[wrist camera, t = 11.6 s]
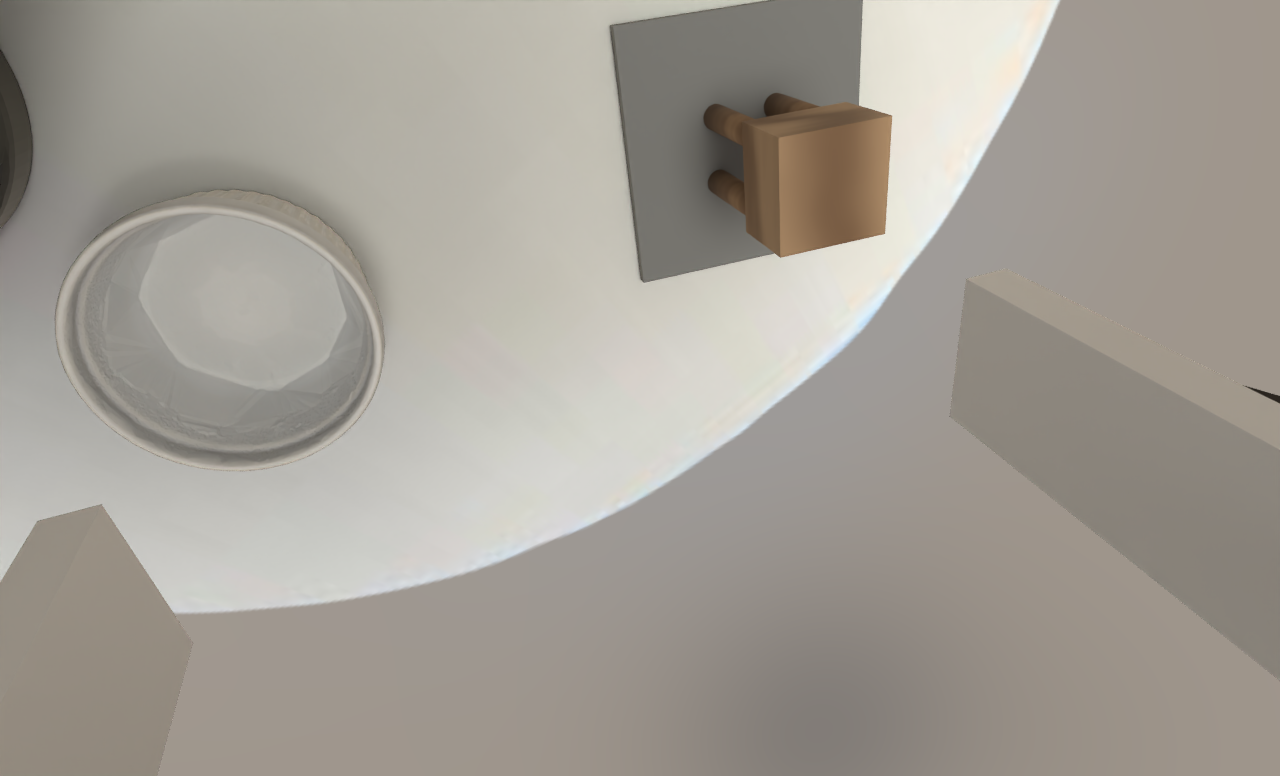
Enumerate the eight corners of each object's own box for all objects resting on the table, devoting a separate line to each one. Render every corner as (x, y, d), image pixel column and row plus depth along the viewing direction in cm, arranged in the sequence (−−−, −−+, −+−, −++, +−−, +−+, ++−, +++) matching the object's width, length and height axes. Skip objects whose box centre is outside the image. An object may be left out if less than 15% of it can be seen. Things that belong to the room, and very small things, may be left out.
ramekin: (60, 175, 34) (-6, 218, 29) (361, 157, 38) (356, 193, 32) (153, 418, 41) (114, 493, 35) (402, 385, 44) (404, 449, 38)
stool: (704, 201, 43) (780, 257, 35) (697, 102, 40) (778, 137, 32) (791, 183, 44) (884, 233, 36) (790, 85, 41) (892, 115, 33)
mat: (640, 279, 45) (644, 282, 45) (610, 25, 38) (613, 26, 37) (848, 232, 48) (853, 235, 47) (857, -14, 41) (863, -14, 40)
